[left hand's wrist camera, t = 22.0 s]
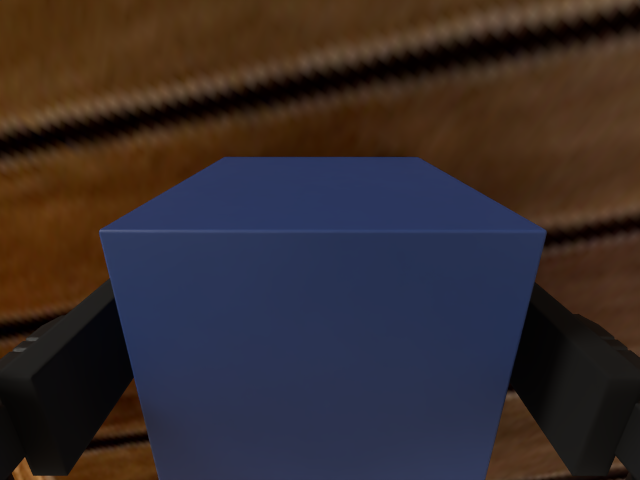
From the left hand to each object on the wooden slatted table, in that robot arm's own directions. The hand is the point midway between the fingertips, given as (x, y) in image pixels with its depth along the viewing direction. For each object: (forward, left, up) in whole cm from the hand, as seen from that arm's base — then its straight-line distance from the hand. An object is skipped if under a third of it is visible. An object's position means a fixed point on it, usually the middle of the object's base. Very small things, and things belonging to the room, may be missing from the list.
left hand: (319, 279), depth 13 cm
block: (0, 0, -3) cm, 3 cm away
